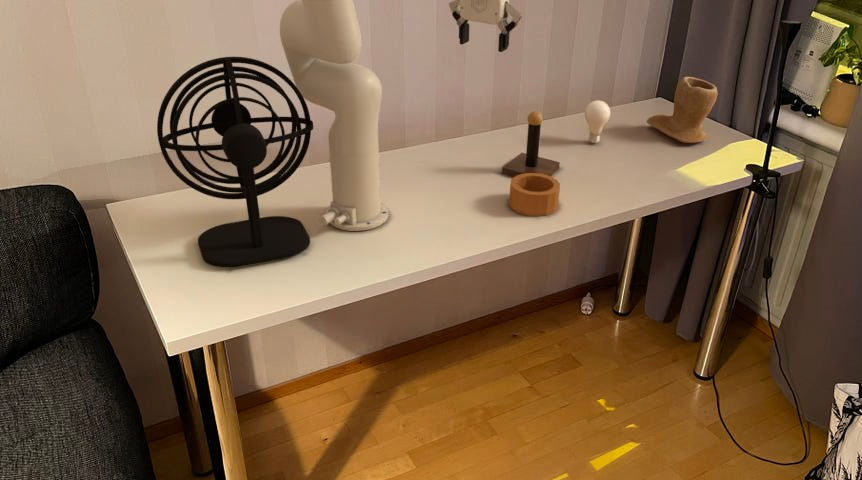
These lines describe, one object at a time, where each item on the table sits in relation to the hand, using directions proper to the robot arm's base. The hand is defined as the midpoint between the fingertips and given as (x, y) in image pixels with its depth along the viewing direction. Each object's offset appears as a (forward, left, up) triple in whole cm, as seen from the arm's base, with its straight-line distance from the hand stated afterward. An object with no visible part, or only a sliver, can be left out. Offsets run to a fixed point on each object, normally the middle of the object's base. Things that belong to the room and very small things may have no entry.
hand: (483, 46), depth 174 cm
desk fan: (-59, +16, -27) cm, 67 cm away
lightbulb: (+24, -20, -27) cm, 41 cm away
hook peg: (0, -14, -25) cm, 29 cm away
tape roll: (-15, -22, -26) cm, 38 cm away
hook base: (0, -14, -27) cm, 30 cm away
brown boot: (+42, -37, -27) cm, 62 cm away
